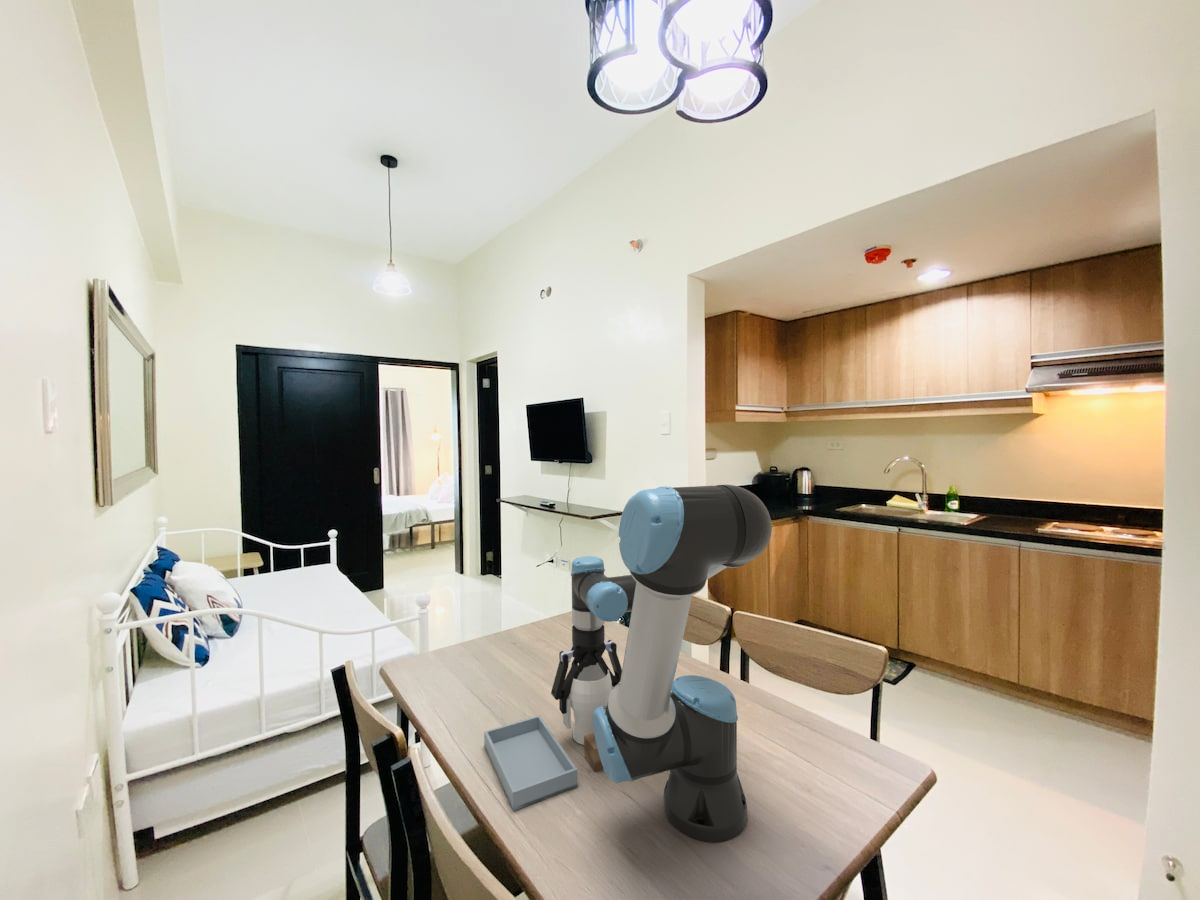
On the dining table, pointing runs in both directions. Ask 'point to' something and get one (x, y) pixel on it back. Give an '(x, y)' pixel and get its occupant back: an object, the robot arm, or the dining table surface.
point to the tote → (529, 762)
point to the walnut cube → (592, 752)
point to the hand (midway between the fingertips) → (589, 718)
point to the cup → (588, 699)
